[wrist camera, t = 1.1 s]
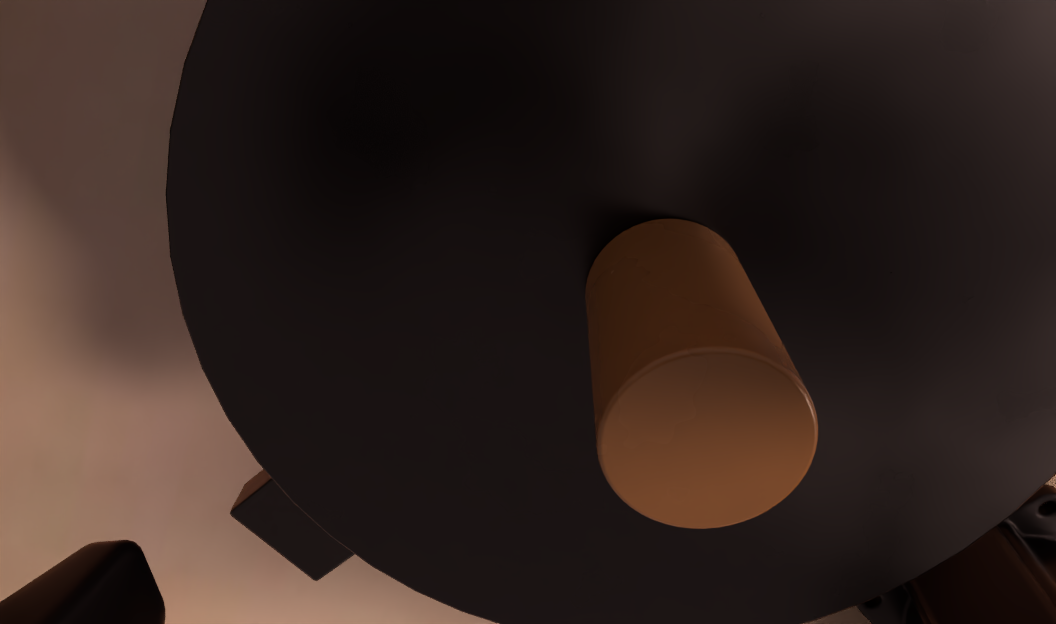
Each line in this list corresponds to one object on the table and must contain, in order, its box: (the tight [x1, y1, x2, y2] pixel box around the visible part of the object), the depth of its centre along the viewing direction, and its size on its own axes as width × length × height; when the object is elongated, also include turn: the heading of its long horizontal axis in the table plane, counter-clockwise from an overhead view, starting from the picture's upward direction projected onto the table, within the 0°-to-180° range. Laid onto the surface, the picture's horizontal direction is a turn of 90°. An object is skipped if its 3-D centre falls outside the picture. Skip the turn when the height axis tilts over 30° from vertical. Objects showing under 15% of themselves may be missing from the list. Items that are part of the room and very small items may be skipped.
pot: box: [230, 469, 354, 581], centre depth 16 cm, size 14×20×7 cm
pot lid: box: [166, 0, 1056, 624], centre depth 11 cm, size 15×15×5 cm
